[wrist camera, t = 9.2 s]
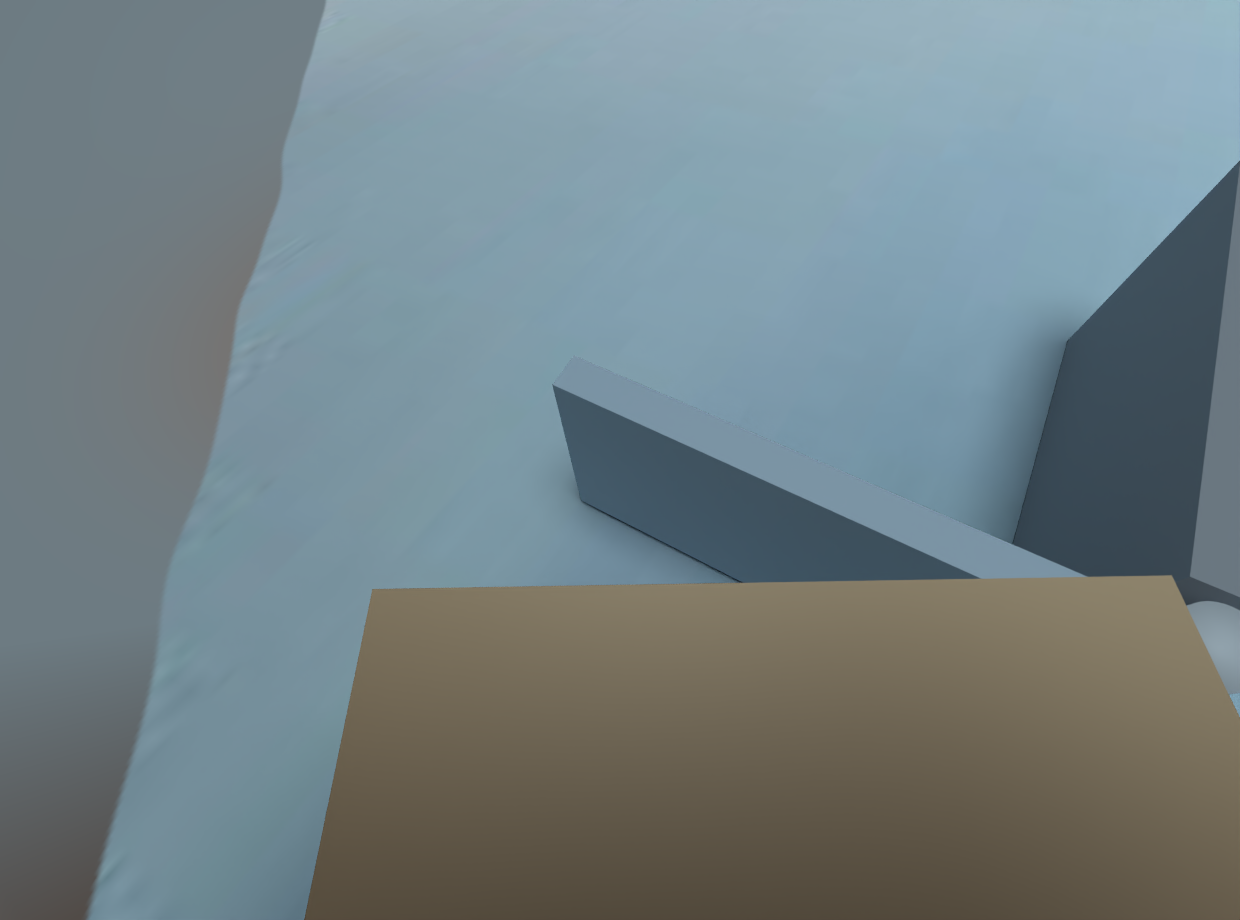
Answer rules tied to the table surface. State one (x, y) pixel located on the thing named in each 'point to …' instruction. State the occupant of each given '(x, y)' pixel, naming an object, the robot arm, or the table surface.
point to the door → (757, 496)
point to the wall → (1155, 430)
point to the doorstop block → (785, 755)
